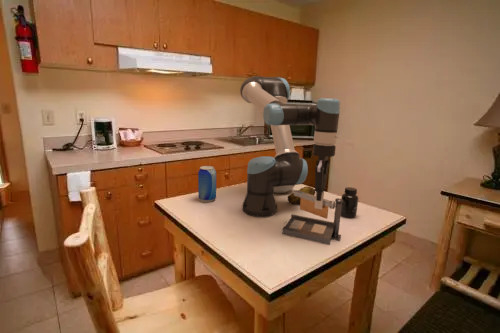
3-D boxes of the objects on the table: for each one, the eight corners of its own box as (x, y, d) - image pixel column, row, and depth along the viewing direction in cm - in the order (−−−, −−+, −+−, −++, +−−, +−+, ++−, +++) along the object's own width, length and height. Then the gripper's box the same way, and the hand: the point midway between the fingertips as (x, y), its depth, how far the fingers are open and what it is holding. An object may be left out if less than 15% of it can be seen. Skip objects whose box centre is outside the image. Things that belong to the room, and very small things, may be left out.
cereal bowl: (280, 184, 164) (281, 172, 162) (301, 192, 151) (302, 179, 149) (257, 189, 154) (257, 176, 152) (277, 198, 141) (278, 184, 139)
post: (329, 238, 101) (333, 200, 98) (330, 234, 104) (334, 197, 101) (339, 241, 100) (344, 202, 96) (340, 236, 103) (345, 199, 100)
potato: (287, 198, 140) (288, 183, 139) (313, 200, 139) (315, 185, 137) (287, 204, 132) (288, 188, 131) (315, 207, 131) (316, 190, 129)
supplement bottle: (357, 219, 119) (360, 192, 116) (340, 217, 120) (343, 190, 117) (354, 212, 125) (358, 187, 122) (338, 211, 127) (341, 185, 124)
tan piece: (292, 207, 113) (294, 190, 112) (295, 206, 115) (296, 189, 113) (331, 221, 101) (333, 202, 99) (334, 220, 102) (336, 201, 101)
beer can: (219, 199, 137) (219, 167, 133) (208, 204, 130) (208, 170, 126) (206, 195, 142) (206, 164, 138) (194, 200, 135) (194, 167, 131)
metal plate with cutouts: (282, 234, 104) (282, 226, 103) (291, 221, 115) (291, 214, 114) (329, 244, 97) (330, 236, 96) (334, 230, 108) (335, 222, 107)
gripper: (332, 147, 91) (325, 216, 96) (338, 143, 103) (331, 205, 107) (309, 144, 95) (303, 211, 99) (317, 141, 106) (312, 201, 110)
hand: (318, 208), depth 103 cm, fingers closed
